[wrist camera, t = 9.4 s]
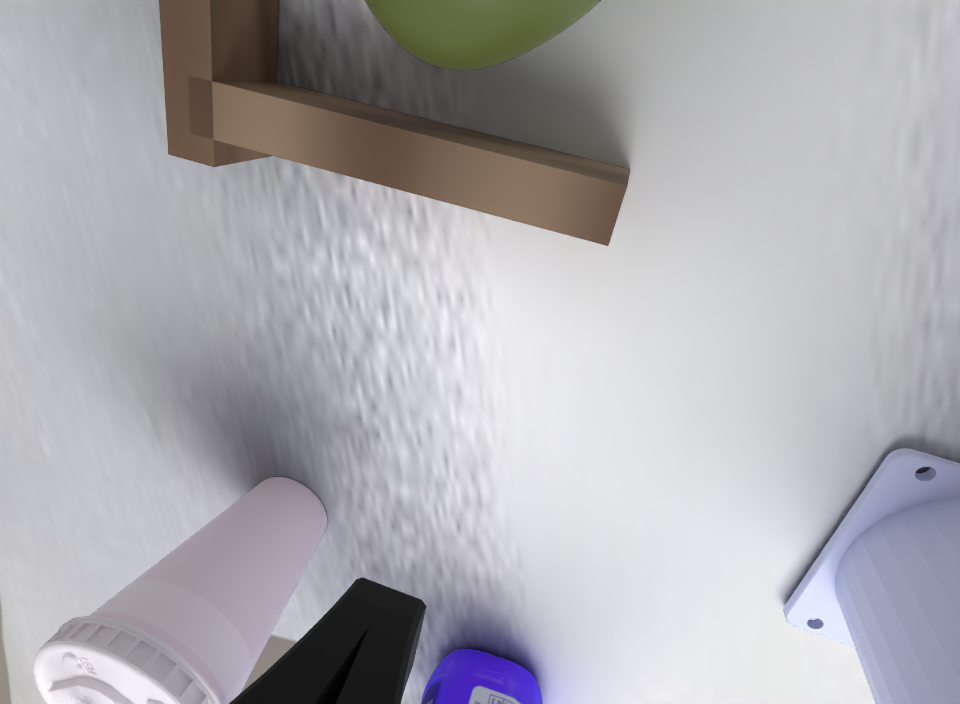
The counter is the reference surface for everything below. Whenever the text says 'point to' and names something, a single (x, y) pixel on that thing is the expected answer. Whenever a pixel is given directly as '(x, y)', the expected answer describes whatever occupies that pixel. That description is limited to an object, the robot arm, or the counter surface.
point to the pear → (475, 27)
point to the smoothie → (191, 610)
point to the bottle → (480, 681)
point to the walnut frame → (358, 129)
